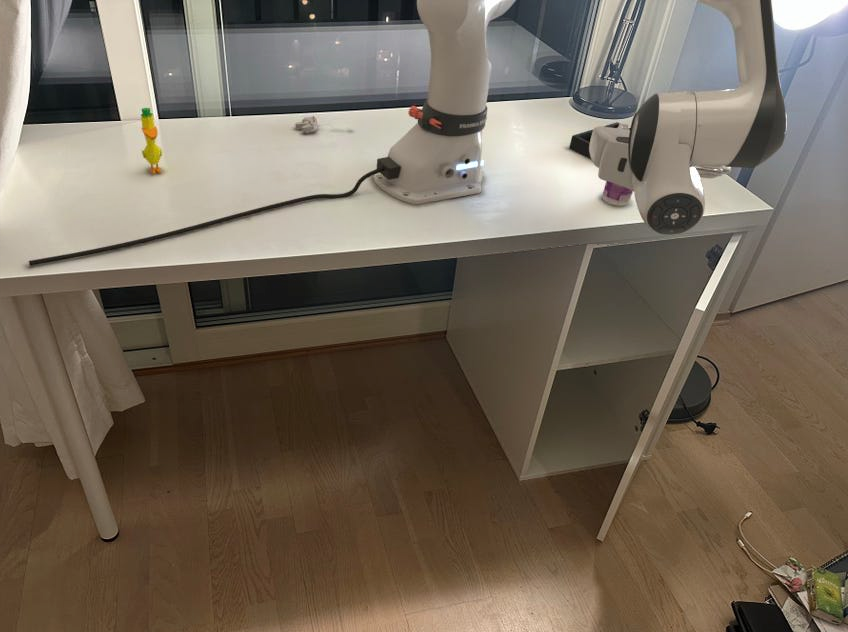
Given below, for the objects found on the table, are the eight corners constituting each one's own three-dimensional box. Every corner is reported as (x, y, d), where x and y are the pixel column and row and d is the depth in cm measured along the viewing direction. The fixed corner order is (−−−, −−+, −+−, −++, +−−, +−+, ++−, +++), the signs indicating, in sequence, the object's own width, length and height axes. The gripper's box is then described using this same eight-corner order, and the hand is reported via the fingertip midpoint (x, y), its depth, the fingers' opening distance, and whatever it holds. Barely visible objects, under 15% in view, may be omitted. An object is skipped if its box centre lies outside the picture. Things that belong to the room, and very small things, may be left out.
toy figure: (168, 178, 133) (160, 116, 126) (149, 181, 132) (139, 118, 124) (161, 163, 138) (152, 102, 130) (142, 165, 137) (132, 104, 129)
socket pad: (642, 147, 157) (646, 134, 155) (597, 162, 150) (601, 149, 148) (613, 134, 162) (617, 122, 160) (568, 148, 155) (572, 135, 153)
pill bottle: (602, 191, 140) (616, 144, 133) (630, 196, 139) (645, 150, 132) (600, 203, 136) (614, 155, 130) (628, 209, 135) (644, 161, 128)
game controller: (293, 125, 156) (292, 113, 154) (342, 121, 159) (343, 110, 157) (299, 135, 152) (299, 123, 150) (350, 131, 155) (350, 120, 153)
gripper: (741, 155, 103) (723, 121, 113) (598, 138, 105) (594, 105, 116) (725, 195, 107) (709, 158, 117) (588, 177, 109) (585, 142, 120)
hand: (651, 132), depth 116 cm, fingers open, 8 cm apart
